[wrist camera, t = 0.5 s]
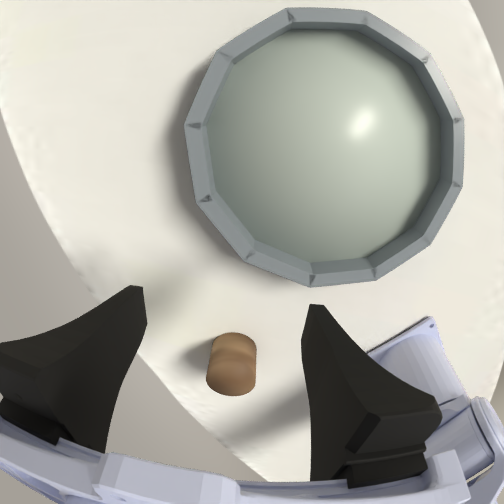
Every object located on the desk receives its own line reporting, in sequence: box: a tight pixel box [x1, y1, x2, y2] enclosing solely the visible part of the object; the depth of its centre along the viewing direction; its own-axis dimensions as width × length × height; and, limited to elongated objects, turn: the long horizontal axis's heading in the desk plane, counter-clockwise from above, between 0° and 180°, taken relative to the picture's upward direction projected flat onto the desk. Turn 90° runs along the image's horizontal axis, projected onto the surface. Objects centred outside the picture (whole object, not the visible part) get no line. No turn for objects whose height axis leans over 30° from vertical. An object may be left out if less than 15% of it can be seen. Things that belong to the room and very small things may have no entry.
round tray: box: [184, 8, 464, 288], centre depth 17 cm, size 18×18×2 cm
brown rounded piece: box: [206, 333, 257, 396], centre depth 24 cm, size 4×4×4 cm
